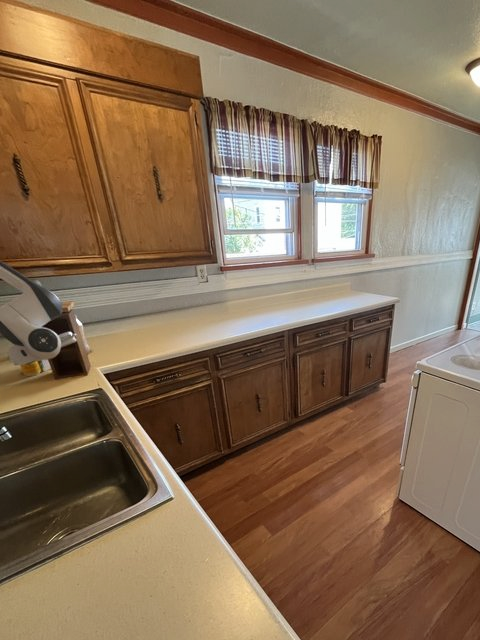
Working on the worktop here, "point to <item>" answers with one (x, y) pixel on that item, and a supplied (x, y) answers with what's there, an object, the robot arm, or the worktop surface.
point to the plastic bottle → (83, 336)
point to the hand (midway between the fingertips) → (44, 349)
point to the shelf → (67, 306)
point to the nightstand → (68, 349)
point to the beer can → (31, 368)
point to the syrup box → (44, 365)
